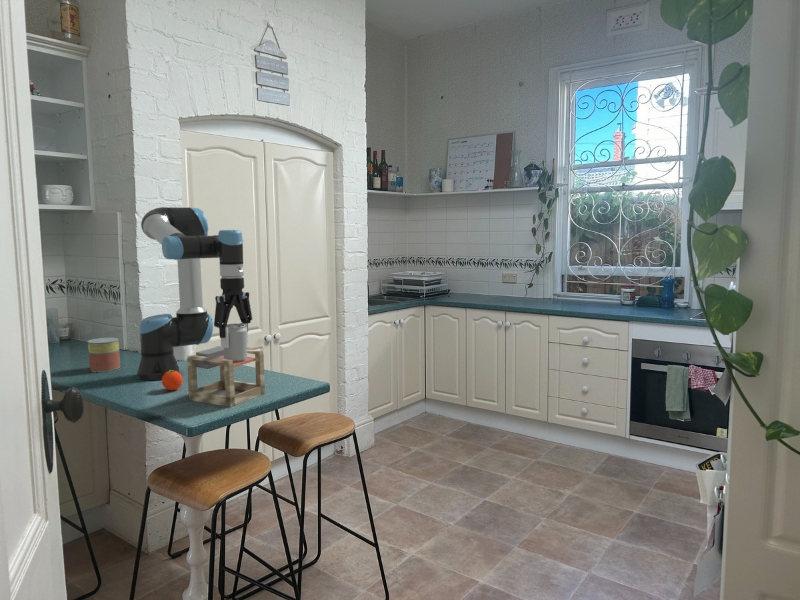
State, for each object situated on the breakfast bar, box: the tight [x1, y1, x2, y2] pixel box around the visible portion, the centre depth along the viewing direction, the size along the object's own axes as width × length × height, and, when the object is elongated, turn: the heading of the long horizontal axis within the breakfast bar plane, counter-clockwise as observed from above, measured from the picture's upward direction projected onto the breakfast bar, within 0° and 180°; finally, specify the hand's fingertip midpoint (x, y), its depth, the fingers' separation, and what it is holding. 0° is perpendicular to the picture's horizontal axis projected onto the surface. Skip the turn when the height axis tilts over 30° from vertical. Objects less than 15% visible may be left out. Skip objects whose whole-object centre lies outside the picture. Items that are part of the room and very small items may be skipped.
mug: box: [173, 344, 197, 362], centre depth 259 cm, size 12×9×9 cm
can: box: [224, 323, 248, 362], centre depth 196 cm, size 8×8×12 cm
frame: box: [186, 348, 266, 408], centre depth 200 cm, size 18×17×15 cm
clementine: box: [161, 370, 184, 391], centre depth 209 cm, size 8×7×7 cm
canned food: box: [87, 337, 121, 371], centre depth 239 cm, size 11×11×12 cm
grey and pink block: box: [195, 345, 256, 370], centre depth 199 cm, size 16×13×5 cm
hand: (234, 344), depth 197 cm, fingers open, 8 cm apart
